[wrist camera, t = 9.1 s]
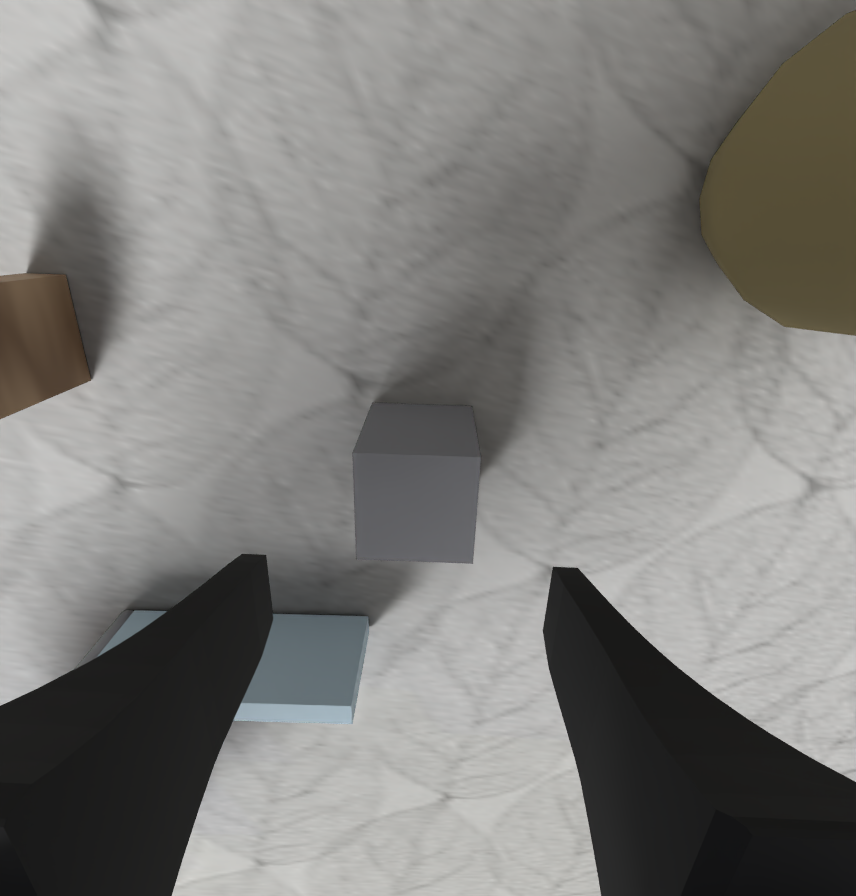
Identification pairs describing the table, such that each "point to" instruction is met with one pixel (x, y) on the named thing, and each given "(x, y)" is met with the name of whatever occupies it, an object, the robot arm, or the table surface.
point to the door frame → (37, 341)
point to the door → (287, 666)
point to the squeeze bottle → (792, 190)
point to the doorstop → (416, 483)
